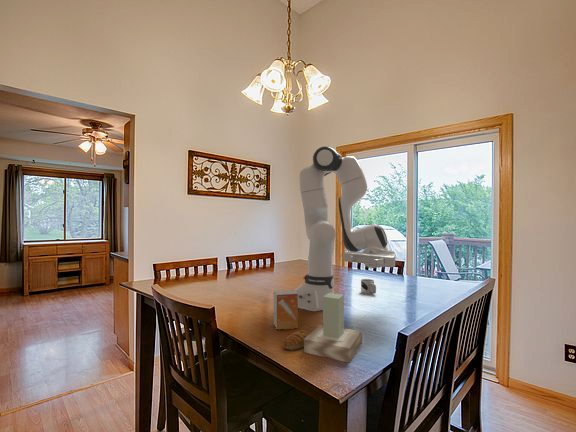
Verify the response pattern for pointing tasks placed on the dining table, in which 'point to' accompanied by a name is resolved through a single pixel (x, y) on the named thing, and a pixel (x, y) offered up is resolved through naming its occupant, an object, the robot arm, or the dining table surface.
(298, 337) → the pastry
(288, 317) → the small box
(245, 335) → the dining table surface
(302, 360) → the dining table surface
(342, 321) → the sage block
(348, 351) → the base plinth
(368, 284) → the mug
